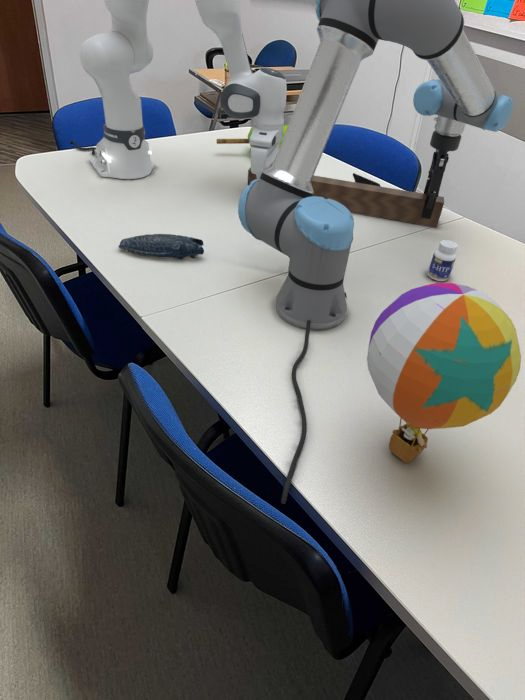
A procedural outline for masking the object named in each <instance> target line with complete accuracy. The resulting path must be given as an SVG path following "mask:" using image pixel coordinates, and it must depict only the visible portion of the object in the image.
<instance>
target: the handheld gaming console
mask: <svg viewBox="0 0 525 700" xmlns="http://www.w3.org/2000/svg"><path fill="white" fill-rule="evenodd" d="M352 177H353V180H354V182H356V183H362V184H368V185H375V186H381V184H380V183H378V182H376V181H374V180H371V179H369V178H367V177H364V176H362V175H360V174H357V173H355V172H353V173H352Z"/></svg>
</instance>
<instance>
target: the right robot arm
mask: <svg viewBox="0 0 525 700" xmlns="http://www.w3.org/2000/svg"><path fill="white" fill-rule="evenodd" d="M315 4H316V7H315V14H316V19H318V23H317V27H316V32H317V35H318V38H319V45H318V46H317V49H316V53H315V55H314V57H313V60H312V62H311V65H310V67H309V70H308V72H307V74H306V78H305V81H304V83H303V86H302V89H301V91H300V94H299V97H298V99H297V102H296V104H295V107H294V109H293V111H292V114H291V117H290V119H289V122H288V124H287V125H288V127H287V130H286V132H285V135H284V137H283V140H282V143H281V145H280V148H279V150H278V153H277V155H276V158H275V159H274V161H273V165H272V166H271V167H269V168H267V169H265V170H263V171H262V174H261V177H260V179H256V180H253V181H252V182H250V185H246V186H245V187H244V189H243V190H242V191H241V194H240V197H239V200H238V206H237V215H238V220H239V221H240V224H241V226H242V228H243V229H244V230H245V231H246V233H247V232H248V233H249V234H250V235H251V236H252V237H253V238H255V240H258V241H261V242H263V243H264V244H266V245H268V246H270V247H271V248H273V249H274V250H276V251H277V252H280V253H281V254H283V255H285V256H286V257H288V258H289V262H288V263H289V264H288V270H287V271H288V272H287V275H286V278H285V279H284V282H283V283H282V285H281V287H280V290H279V291H278V294H277V296H276V300H275V311H276V313H277V315H278V316H279V317H280V318H281V319H282V320H283V321H284V322H286V323H287V324H289V325H291V326H293V327H296V328H300V329H304V330H305V331H304V342H303V348H302V351H301V353H300V354H299V356H298V357H297V359H296V360H295V362H294V363H293V366H292V368H291V381H292V385H293V388H294V391H295V394H296V397H297V402H298V403H297V404H298V408H299V413H300V417H301V433H300V439H299V441H298V445H297V447H296V449H295V452H294V454H293V456H292V457H293V458H292V460H291V463H290V466H289V469H288V472H287V475H286V479H285V482H284V485H283V489H282V493H281V499H280V503H281V505H285V504H286V503H287V500H288V496H289V492H290V487H291V483H292V481H293V477H294V474H295V471H296V468H297V465H298V461H299V458H300V456H301V453H302V451H303V449H304V445H305V443H306V437H307V432H308V431H307V430H308V424H307V423H308V422H307V415H306V409H305V406H304V401H303V396H302V391H301V389H300V386H299V384H298V380H297V369H298V367H299V365H300V363H301V362H302V361H303V359H304V358H305V356H306V354H307V352H308V347H309V340H310V339H309V338H310V331H324V330H325V331H326V330H329V329H333V328H336V327H337V326H339V325H340V324H342V323H343V322H344V320H345V318H346V315H347V310H348V307H347V306H348V305H347V299H348V298H347V296H348V295H347V292H345V286H344V280H345V275H346V271H347V267H348V261H349V257H350V253H351V252H350V251H351V246H352V244H353V240H354V230H355V229H354V228H355V218H354V216H353V213H351V212H350V211H349V210H348V209H347V208H346V207H345V206H344V205H342V204H340V203H339V202H337V201H334V200H332V199H324V198H323V197H317V196H313V194H314V190H313V188H312V185H311V180H312V178H313V175H314V176H315V174H316V170H317V168H318V166H319V163H320V161H321V159H322V156H323V153H324V151H325V149H326V146H327V144H328V141H329V140H330V137H331V134H332V132H333V129H334V127H335V125H336V123H337V120H338V117H339V115H340V112H341V110H342V108H343V106H344V103H345V101H346V98H347V96H348V93H349V91H350V88H351V87H352V84H353V82H354V79H355V76H356V74H357V72H358V70H359V67H360V64H361V62H362V61H363V60H364V59H366V58H368V57H370V56H373V54H374V52H375V49H376V47H377V45H378V42H379V40H380V41H384V42H390V43H394V44H398V45H401V46H403V47H406V48H407V49H410V50H411V51H412V52H413V54H414V55H415V56H416V57H417V58H419V59H420V60H423V61H427V63H428V64H429V65H430V67H431V69H432V70H433V72H434V74H435V75H436V76H437V78H438V79H430V80H428V81H427V80H426V81H424V82H423V83H421V84H419V85H418V86H417V87H416V89H415V91H414V94H413V99H412V101H413V102H412V103H413V108H414V110H415V111H416V112H417V113H418V114H419V115H421V116H426V117H427V116H428V117H430V116H434V115H435V117H434V118H433V120H434V121H435V123H434V126H433V127H434V130H433V131H432V133H431V137H430V142H429V145H430V147H431V148H432V149H435V151H434V152H433V154H432V160H431V163H430V167H429V169H428V175H427V179H426V183H425V187H424V190H423V194H425V196H426V200H425V203H424V207H423V210H422V214H421V218H426V219H431V215H432V212H433V209H434V205H435V202H436V198H437V197H438V196H440V195H439V193H440V190H441V185H442V181H443V178H444V173H445V171H446V167H447V165H448V162H449V159H450V156H449V153H448V152H456V151H457V150H458V149H459V147H460V143H461V142H462V141H461V140H462V134H464V131H465V127H466V125H469V126H472V127H474V128H475V127H476V128H479V129H482V130H483V131H485V130H486V131H489V132H494V133H496V132H499V131H501V130H503V129H504V128H505V126H506V125H507V123H508V122H509V121H510V119H511V116H512V114H513V111H514V101H513V98H512V97H510V96H508V95H504V93H503V94H502V93H501V94H500V93H498V92H496V90H495V88H494V86H493V84H492V82H491V80H490V78H489V76H488V75H487V72H486V71H485V69H484V67H483V64H482V63H481V61H480V59H479V57H478V55H477V54H476V52H475V50H474V48H473V46H472V45H471V42H470V40H469V39H468V37H467V35H466V32H465V31H464V28H465V18H464V15H463V12H462V10H461V8H460V6H459V5H458V4H457V1H456V0H315Z"/></svg>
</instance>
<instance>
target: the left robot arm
mask: <svg viewBox="0 0 525 700" xmlns="http://www.w3.org/2000/svg"><path fill="white" fill-rule="evenodd" d="M103 2H104V5H105V7H106V9H107V10H108V12H109V13H110V16H111V17H110V19H111V28H110V31H108V32H102V33H96V34H94V35H92V36H90V37H89V38H87V39H86V40H84V41H83V42H82V43H81V45H80V47H79V60H80V64H81V66H82V68H83V70H84V71H85V72H86V74H87V75H88V76H90V77H91V78H92V79H93V81H94V82H95V84H96V86H97V88H98V91H99V93H100V96H101V99H102V106H103V114H104V122H105V123H103V137H102V138H101V139H100V141H98V142H97V144H96V145H95V146H91V147H81V146H79V145H78V144H77V143H76V141H75V140H71V141H70V143H69V144H70V145H74V147H75V148H76V149H78V150H80V151H91V154H92V155H94V156H93V157H91V158H90V159H89V161H90V164H91V165H92V166H93V168H94V169H95V170H96V172H97V173H98V174H99V176H100V177H102V178H114V179H120V180H136V179H137V180H138V179H142V178H145V177H148V176H149V175H150V174H152V171H153V169H155V168H156V166H155V163H153V162H152V159H151V158H152V157H151V155H152V151H150V144H149V142H148V141H147V140H146V139H145V138H146V129H145V125H144V123H143V122H144V121H143V108H142V99H141V97H140V95H139V94H137V93H136V92H135V91H134V89H133V86H132V83H131V79H130V75H131V74H135V73H138V72H141V71H142V70H143V69H145V68H146V67H148V66H149V65H150V64H151V62H152V60H153V57H154V47H153V44H152V41H151V40H150V38H149V37H148V31H147V28H148V27H147V15H148V8H149V2H150V0H104V1H103ZM194 2H195V6H196V8H197V11H198V13H199V16H200V18H201V20H202V23H203V24H204V25H205V27H207V28H208V29H210V30H211V31H212V32H213V33H214V34H215V35H216V37H217V38H218V39H219V42H220V45H221V47H222V51H223V55H224V58H225V63H226V66H227V70H228V83H227V84H226V85H225V86H224V88H223V89H222V91H221V93H220V97H219V98H220V99H219V101H220V106H221V108H222V110H223V112H224V113H225V115H227V116H228V117H229V118H232V119H235V120H236V119H237V120H239V119H252V118H253V119H252V126H253V128H252V134H251V136H250V140H249V143H248V144H249V146H250V145H252V146H250V167H251V172H252V173H253V174H256V177H257V179H260V177H261V174H262V171H263V170H265V169H267V168H269V167H271V166H272V165H273V163H274V161H275V158H276V155H277V153H278V150H279V142H280V141H282V138H283V128H284V125H285V119H284V118H285V117H284V115H285V114H284V113H285V110H286V105H287V93H288V89H287V88H288V87H287V80H286V77H285V75H284V74H283V73H282V72H280V71H279V70H277V69H273V68H270V67H261V68H259V70H256V71H255V72H254V71H253V68H252V67H251V63H250V60H249V55H248V52H247V47H246V44H245V38H244V34H243V29H242V19H241V10H240V8H241V7H240V0H194Z"/></svg>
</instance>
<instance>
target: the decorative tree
mask: <svg viewBox="0 0 525 700" xmlns="http://www.w3.org/2000/svg"><path fill="white" fill-rule="evenodd" d="M287 127H288V124H284V128H283V137H284V135H285V132H286V130H287ZM252 128H253V125H252V126H251V127H250V129H249V132H248V134H247V138H216V144H217V145H229V144H230V145H232V144H233V145H234V144H239V145H241V144H243V145H244V144H249V140H250V136H251V134H252ZM282 140H283V138H282ZM281 143H282V141H280V142H279V148H280V145H281ZM249 146H250V147H251V146H252V145H250V144H249Z"/></svg>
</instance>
